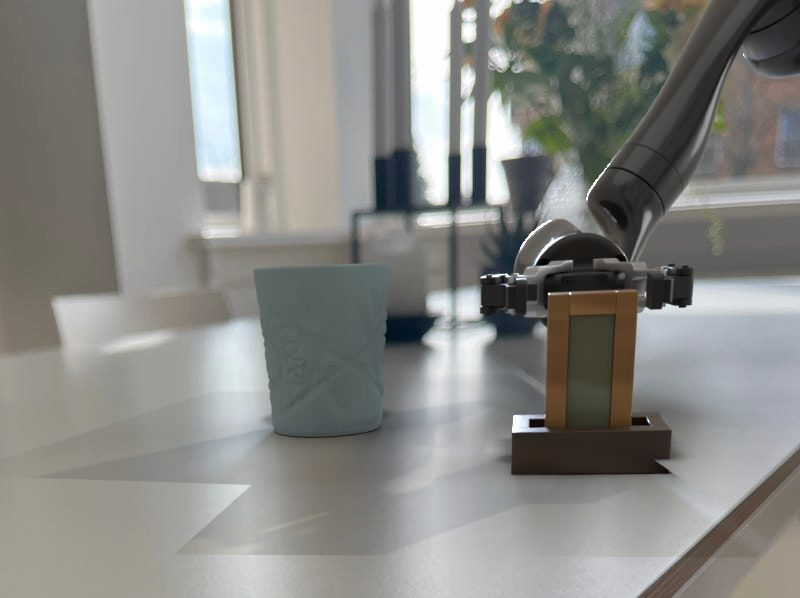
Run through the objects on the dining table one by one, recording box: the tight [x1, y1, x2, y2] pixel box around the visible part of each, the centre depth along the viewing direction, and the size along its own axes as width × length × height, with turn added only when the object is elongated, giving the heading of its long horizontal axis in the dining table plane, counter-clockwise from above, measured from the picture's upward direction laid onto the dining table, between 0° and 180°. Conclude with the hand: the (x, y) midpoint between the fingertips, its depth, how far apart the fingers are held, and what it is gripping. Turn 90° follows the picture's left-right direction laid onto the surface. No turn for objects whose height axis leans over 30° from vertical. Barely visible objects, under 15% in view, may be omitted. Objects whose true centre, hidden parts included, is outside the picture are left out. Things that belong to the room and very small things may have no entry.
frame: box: [544, 289, 639, 427], centre depth 62 cm, size 2×5×10 cm, turn 79°
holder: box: [510, 411, 673, 475], centre depth 63 cm, size 6×9×2 cm
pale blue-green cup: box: [252, 262, 391, 438], centre depth 79 cm, size 10×10×12 cm
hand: (588, 295), depth 66 cm, fingers open, 8 cm apart
